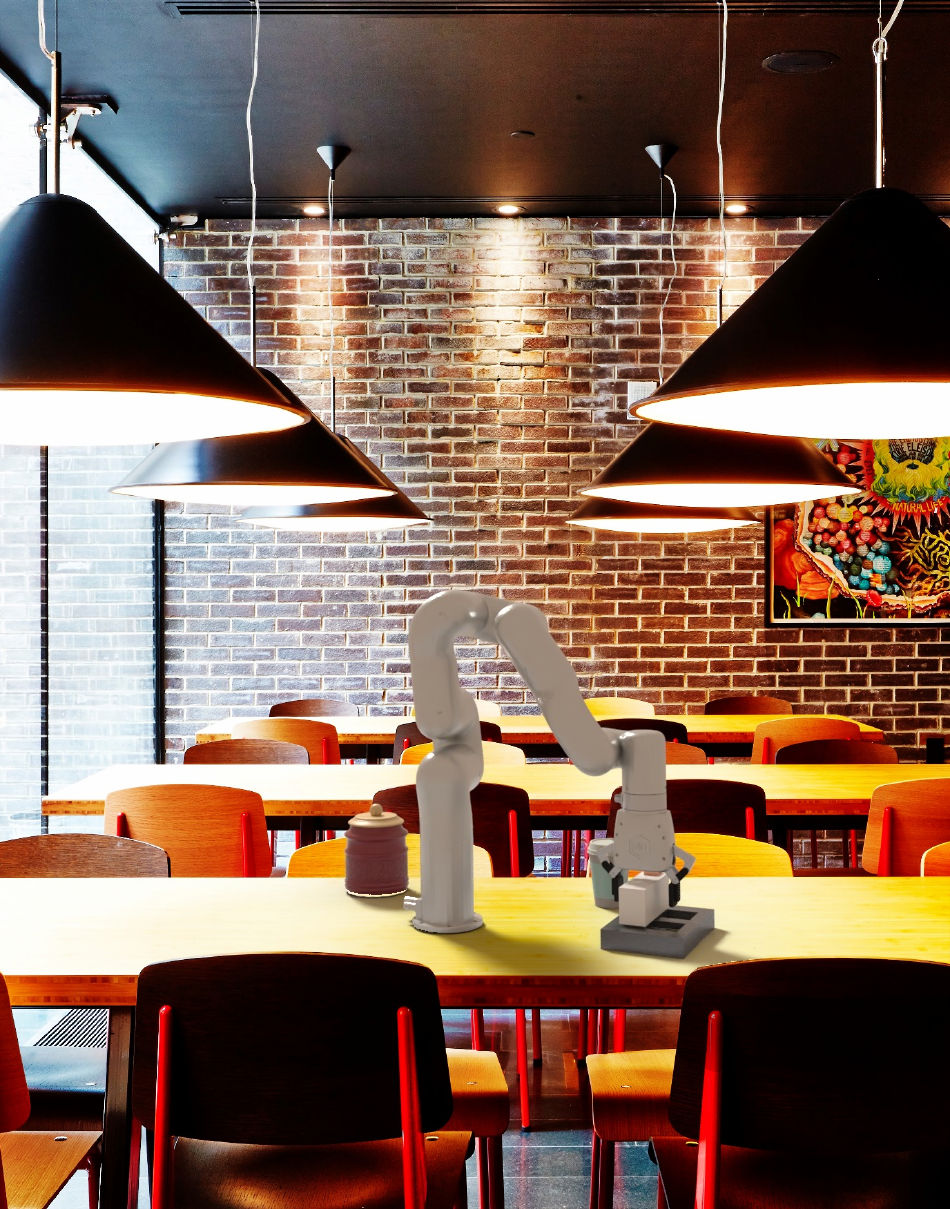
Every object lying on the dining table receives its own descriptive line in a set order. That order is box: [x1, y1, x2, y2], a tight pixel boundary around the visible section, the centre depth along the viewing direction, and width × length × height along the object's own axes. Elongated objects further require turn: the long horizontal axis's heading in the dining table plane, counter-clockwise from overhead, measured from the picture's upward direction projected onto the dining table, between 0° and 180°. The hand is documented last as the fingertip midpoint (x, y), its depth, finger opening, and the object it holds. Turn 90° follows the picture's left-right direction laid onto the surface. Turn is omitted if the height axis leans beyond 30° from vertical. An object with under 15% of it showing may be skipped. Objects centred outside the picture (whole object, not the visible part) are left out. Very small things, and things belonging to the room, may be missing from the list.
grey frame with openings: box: [599, 904, 716, 960], centre depth 189 cm, size 14×20×3 cm
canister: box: [343, 803, 410, 895], centre depth 225 cm, size 13×13×18 cm
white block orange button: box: [618, 871, 670, 931], centre depth 190 cm, size 4×14×10 cm, turn 154°
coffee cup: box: [586, 837, 630, 909], centre depth 211 cm, size 8×9×12 cm
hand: (645, 902), depth 190 cm, fingers open, 9 cm apart
